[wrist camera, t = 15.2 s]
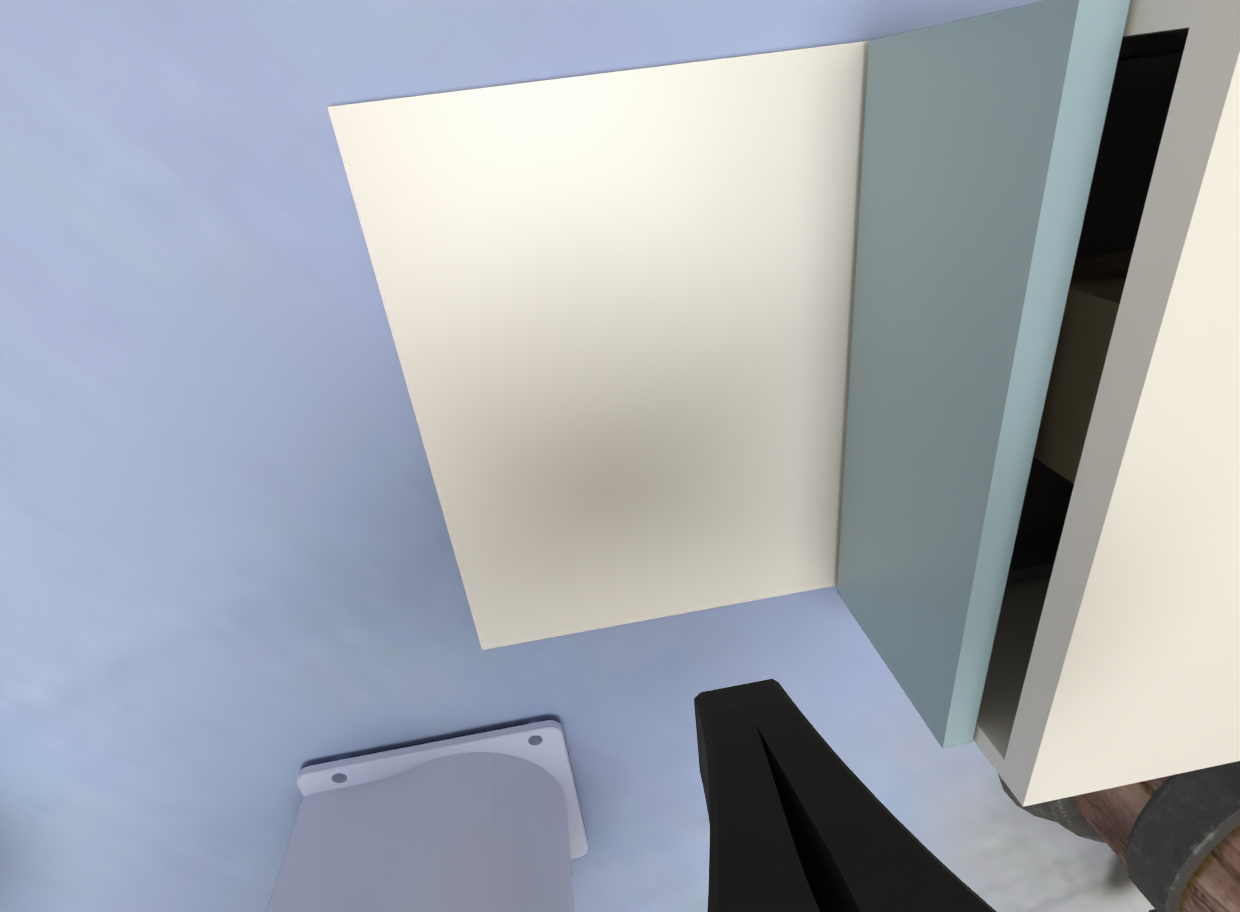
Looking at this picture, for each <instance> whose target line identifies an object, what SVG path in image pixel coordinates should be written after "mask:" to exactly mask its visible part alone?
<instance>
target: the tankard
mask: <svg viewBox="0 0 1240 912" xmlns="http://www.w3.org/2000/svg"><path fill="white" fill-rule="evenodd" d="M998 775H999V774H998ZM999 778H1000V781H1001V784H1002V786H1003V789H1004V791H1005V792H1006V793H1007V794H1008V796H1009V797H1010V798H1011V799H1012V800H1013V801H1014V803H1015V804H1016V805H1017V806H1019V807H1021V808H1022V809H1024V810H1026V811H1027V812H1029V813H1031V814H1032V815H1034V816H1037V817H1041V818H1044V819H1048V820H1051V821H1055V822H1058V823H1059V824H1060V825H1062V826H1063V827H1065V828H1066V829H1068V830H1070V831H1071V832H1073V833H1075V834H1076V835H1078V836H1081V837H1084V838H1088V839H1091V840H1095V841H1098V842H1103V843H1107V844H1108V845H1109V847H1110V848H1111V849H1112V850H1113V851H1114V852H1115V853H1116V855H1117V856H1118V857H1119V858H1120V859H1121V860H1122V862H1123V863H1124V864H1125V865H1126V866H1127V868H1128V873H1129V877H1130V879H1131V880H1132V881H1133V883H1134V884H1135V885H1136V887H1137V888H1138V889H1139V890H1140V892H1141V893H1142V894H1143V895H1144V896H1145V897H1146V898H1147V900H1148V901H1149V902H1150V903H1151V904H1152V905H1153V907H1154V908H1155V909H1153V910H1150V911H1149V912H1240V761H1237V762H1232V763H1227V764H1223V765H1218V766H1213V767H1208V768H1204V769H1199V770H1194V771H1190V772H1185V773H1180V774H1175V775H1171V776H1166V777H1161V778H1156V779H1152V780H1147V781H1142V782H1138V783H1133V784H1128V785H1123V786H1119V787H1114V788H1109V789H1104V790H1100V791H1095V792H1090V793H1086V794H1081V795H1076V796H1071V797H1067V798H1062V799H1057V800H1053V801H1048V802H1043V803H1038V804H1034V805H1029V806H1024V807H1023V806H1022V805H1021V804H1020V802H1019V801H1018V800H1017V798H1016V797H1015V796H1014V794H1013V793H1012V791H1011V790H1010V789H1009V787H1008V786H1007V785H1006V783H1005V782H1004V781H1003V779H1002V778H1001V776H1000V775H999Z"/></svg>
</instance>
